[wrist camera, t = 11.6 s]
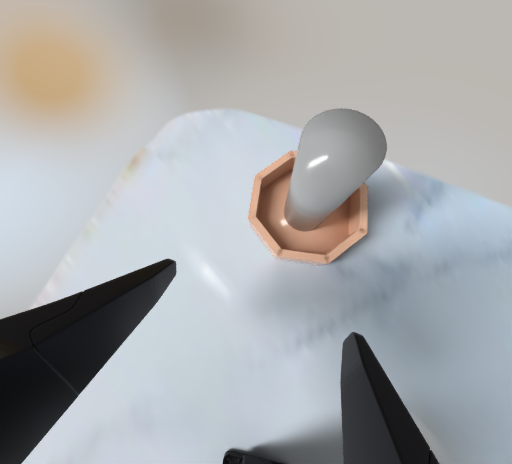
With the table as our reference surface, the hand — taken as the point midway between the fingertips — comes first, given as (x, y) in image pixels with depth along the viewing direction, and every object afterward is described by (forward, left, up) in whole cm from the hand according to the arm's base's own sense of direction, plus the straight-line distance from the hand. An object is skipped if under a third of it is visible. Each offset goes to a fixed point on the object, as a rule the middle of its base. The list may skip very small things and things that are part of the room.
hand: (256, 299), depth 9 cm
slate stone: (+10, -4, -13) cm, 16 cm away
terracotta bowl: (+10, -4, -14) cm, 17 cm away
